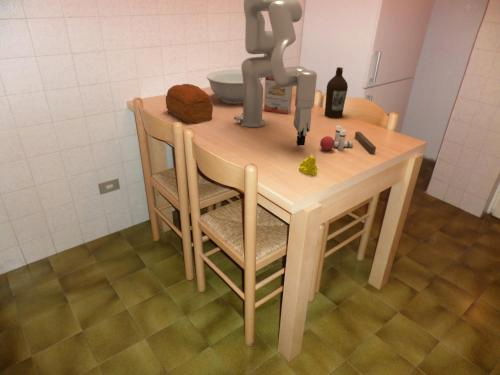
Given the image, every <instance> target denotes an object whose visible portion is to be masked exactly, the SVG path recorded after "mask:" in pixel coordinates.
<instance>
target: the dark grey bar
mask: <svg viewBox="0 0 500 375" xmlns="http://www.w3.org/2000/svg"><path fill="white" fill-rule="evenodd" d="M354 139H355V140H356V141H357V142H358V144H360V145H361V146H362V147H363V148H364V150H366V151H367V153H368V154H370V155H372V154H373V155H375V154H376V149H377V147H376V145H375V144H374V143H372V142H371V141H370V140H369V139H368V138H367V137H366V136H365V135H364V134H363V133H362V132H361V131H355V133H354Z"/></svg>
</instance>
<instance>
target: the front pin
mask: <svg viewBox="0 0 500 375" xmlns="http://www.w3.org/2000/svg"><path fill="white" fill-rule="evenodd" d="M338 143H339V142H335V145H334V147H333V148H332V149H334V148H335V149H336V148H338ZM353 146H354V142H353V141H352V140H351V141H348V140H345V142H344V148H353Z"/></svg>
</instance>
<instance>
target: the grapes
mask: <svg viewBox="0 0 500 375" xmlns="http://www.w3.org/2000/svg"><path fill="white" fill-rule="evenodd" d="M316 161H317V160H316V158H315V155H313V153H311V154H310V156H309V157H306V158H305V159H303V160H302V161H301V162H300V163H299V167H298V172H300V173H301V174H302V175H308V174H309V175H311V176H312V177H315V176H317V174H318V173H317V172H318V169H319V168H318V166H317V165H316V164H317V163H316Z"/></svg>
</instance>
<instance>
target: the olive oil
mask: <svg viewBox="0 0 500 375" xmlns="http://www.w3.org/2000/svg"><path fill="white" fill-rule="evenodd" d="M343 72H344V67H341V66H340V67H339V66H338V67H336V70H335V75H334V76H333V77H332V78H331V79H330V80H329V81H328V83H327V85H326V90H325V93H326V94H325V104H324V106H325V107H324V117H325V118H329V119H341V118H342V117H343V114H344V109H345V103H346V102H345V101H346V98H347V93H348V88H349V86H348V82H347V80H346V79H345V78H344V76H343Z"/></svg>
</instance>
